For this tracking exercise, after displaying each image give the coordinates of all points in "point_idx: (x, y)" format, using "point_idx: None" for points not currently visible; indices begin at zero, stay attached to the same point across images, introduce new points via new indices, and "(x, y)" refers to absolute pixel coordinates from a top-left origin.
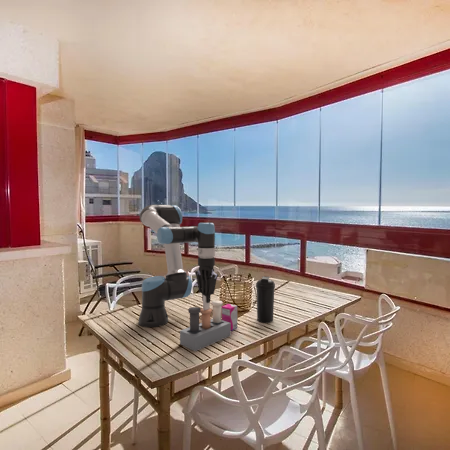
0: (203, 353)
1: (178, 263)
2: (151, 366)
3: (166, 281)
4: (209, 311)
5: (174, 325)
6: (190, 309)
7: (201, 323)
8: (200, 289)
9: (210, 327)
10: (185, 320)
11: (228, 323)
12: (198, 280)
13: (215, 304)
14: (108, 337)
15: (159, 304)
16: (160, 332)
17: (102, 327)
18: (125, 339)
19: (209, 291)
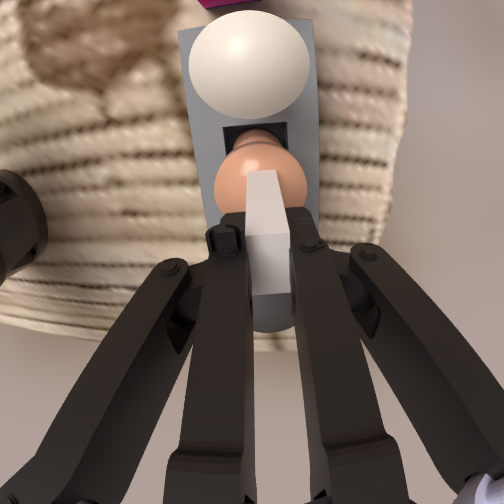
0: (338, 217)
1: None
2: (285, 336)
3: None
4: (306, 194)
5: (54, 169)
6: (259, 324)
7: (201, 146)
8: (193, 336)
9: (277, 138)
10: (31, 109)
11: (310, 33)
12: (138, 442)
13: (280, 109)
14: (81, 334)
15: None
16: (92, 237)
17: (26, 318)
18: (105, 320)
19: (369, 328)
